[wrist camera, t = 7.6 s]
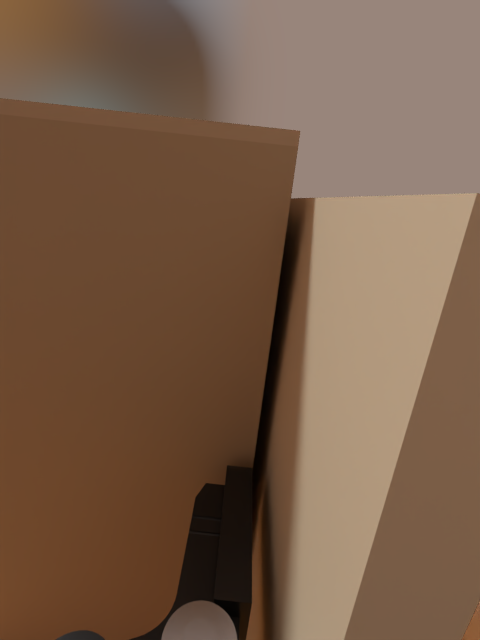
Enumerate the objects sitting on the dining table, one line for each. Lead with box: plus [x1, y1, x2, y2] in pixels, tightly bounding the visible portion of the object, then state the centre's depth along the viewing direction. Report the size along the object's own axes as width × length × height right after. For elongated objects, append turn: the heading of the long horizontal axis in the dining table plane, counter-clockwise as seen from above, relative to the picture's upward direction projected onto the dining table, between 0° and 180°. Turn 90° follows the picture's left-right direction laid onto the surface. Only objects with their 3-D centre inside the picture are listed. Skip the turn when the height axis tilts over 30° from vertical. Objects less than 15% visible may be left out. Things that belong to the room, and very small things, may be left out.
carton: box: [0, 98, 300, 640], centre depth 16 cm, size 11×10×18 cm
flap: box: [246, 193, 480, 640], centre depth 13 cm, size 18×1×16 cm, turn 178°
